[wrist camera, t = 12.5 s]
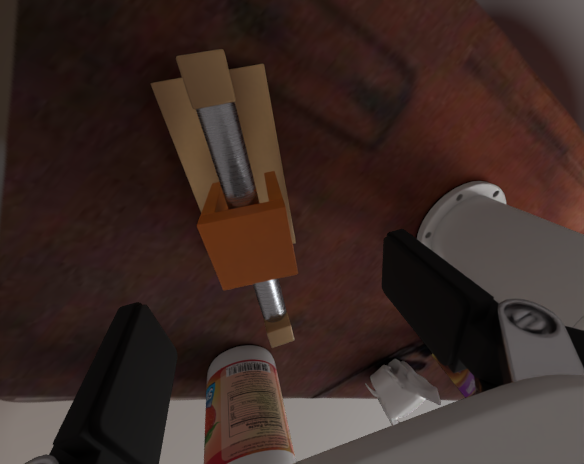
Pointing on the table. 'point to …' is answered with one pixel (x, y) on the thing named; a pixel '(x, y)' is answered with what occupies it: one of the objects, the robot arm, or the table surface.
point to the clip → (248, 238)
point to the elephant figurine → (401, 389)
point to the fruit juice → (245, 410)
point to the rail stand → (228, 147)
